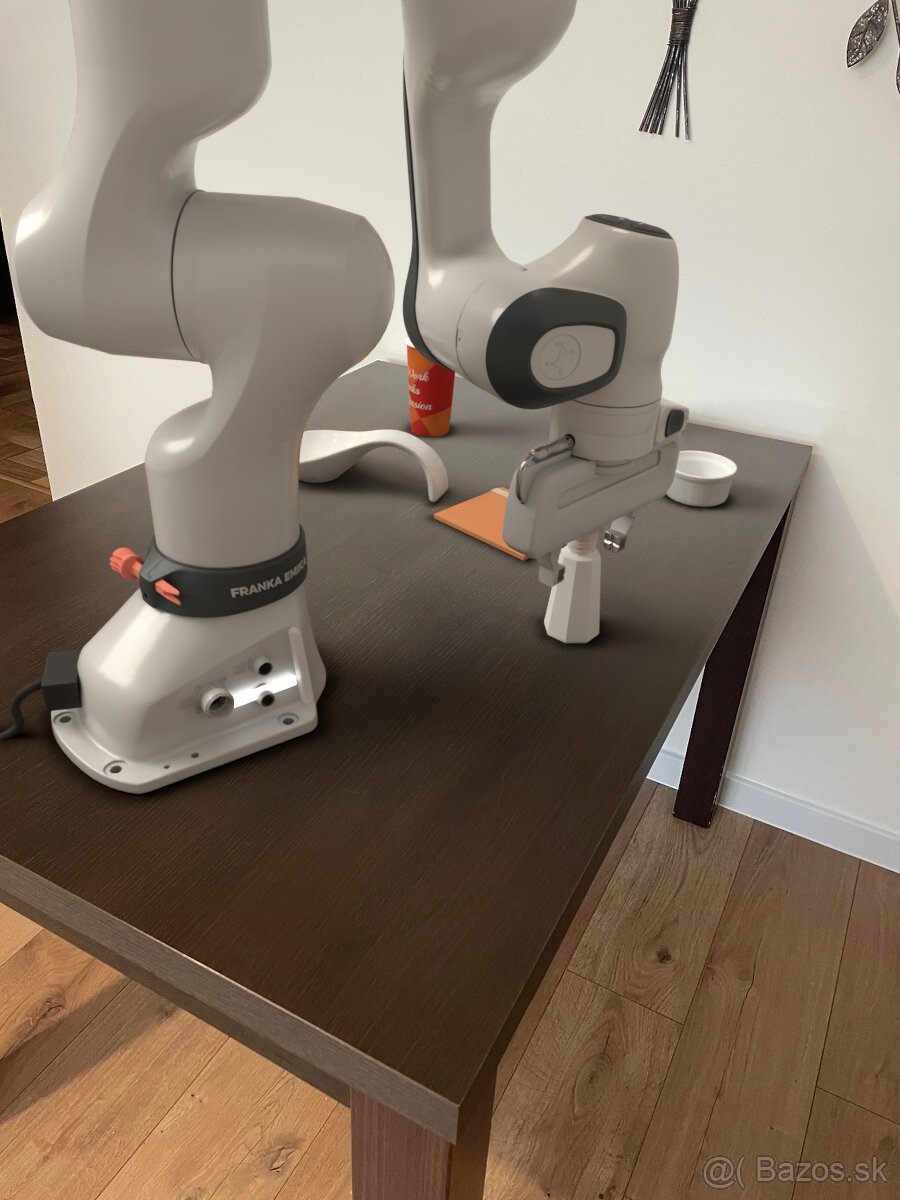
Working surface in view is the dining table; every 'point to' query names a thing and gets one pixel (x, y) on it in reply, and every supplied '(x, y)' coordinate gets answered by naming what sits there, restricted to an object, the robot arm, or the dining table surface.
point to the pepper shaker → (576, 593)
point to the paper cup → (428, 394)
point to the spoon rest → (341, 449)
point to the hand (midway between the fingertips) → (583, 565)
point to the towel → (481, 519)
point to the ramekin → (702, 479)
